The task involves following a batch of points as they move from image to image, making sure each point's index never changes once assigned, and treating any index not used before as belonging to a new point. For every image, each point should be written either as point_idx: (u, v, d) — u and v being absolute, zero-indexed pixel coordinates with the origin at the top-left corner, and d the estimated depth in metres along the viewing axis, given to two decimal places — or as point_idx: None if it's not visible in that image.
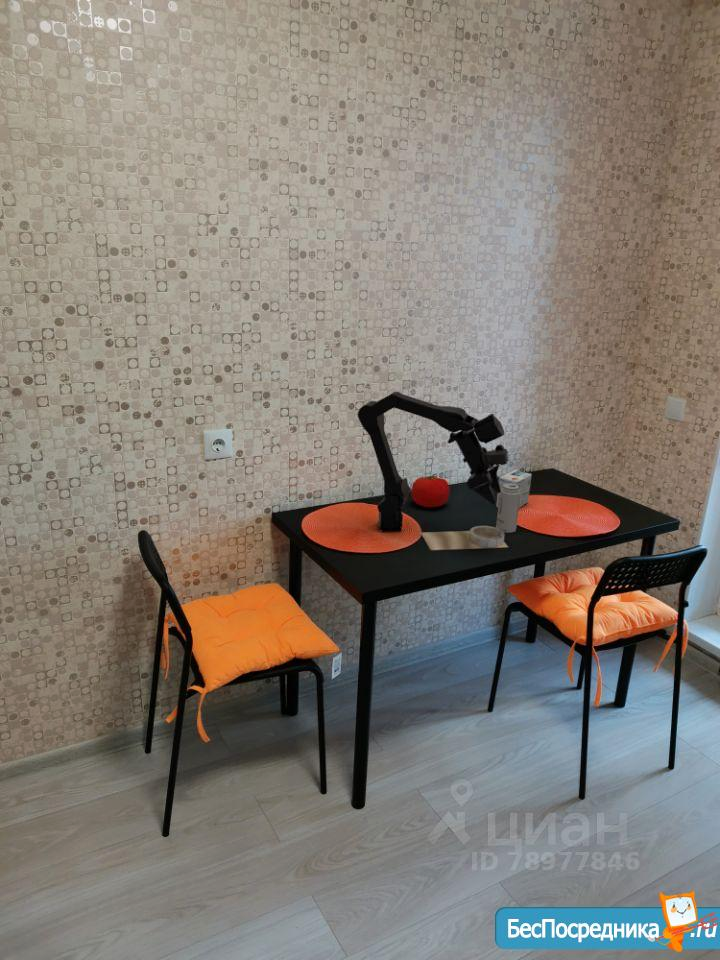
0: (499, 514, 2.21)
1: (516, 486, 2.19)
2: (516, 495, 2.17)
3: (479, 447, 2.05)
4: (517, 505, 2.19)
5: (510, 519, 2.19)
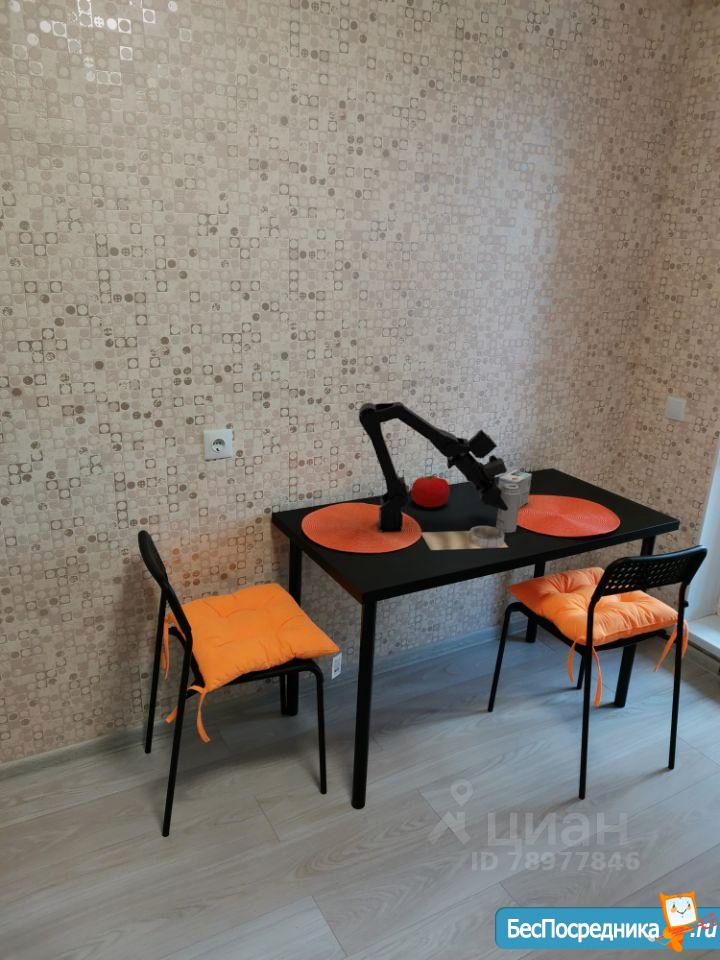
0: (499, 514, 2.21)
1: (516, 486, 2.19)
2: (516, 495, 2.17)
3: (478, 463, 2.16)
4: (517, 505, 2.19)
5: (510, 519, 2.19)
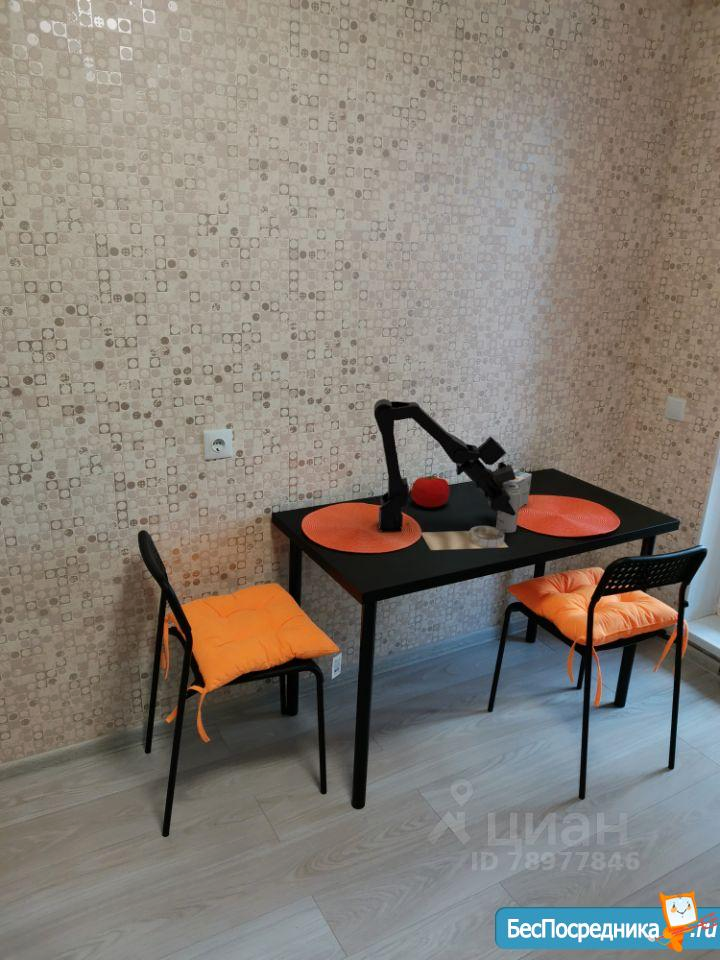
0: (499, 514, 2.21)
1: (516, 486, 2.19)
2: (516, 495, 2.17)
3: (487, 470, 2.16)
4: (517, 505, 2.19)
5: (510, 519, 2.19)
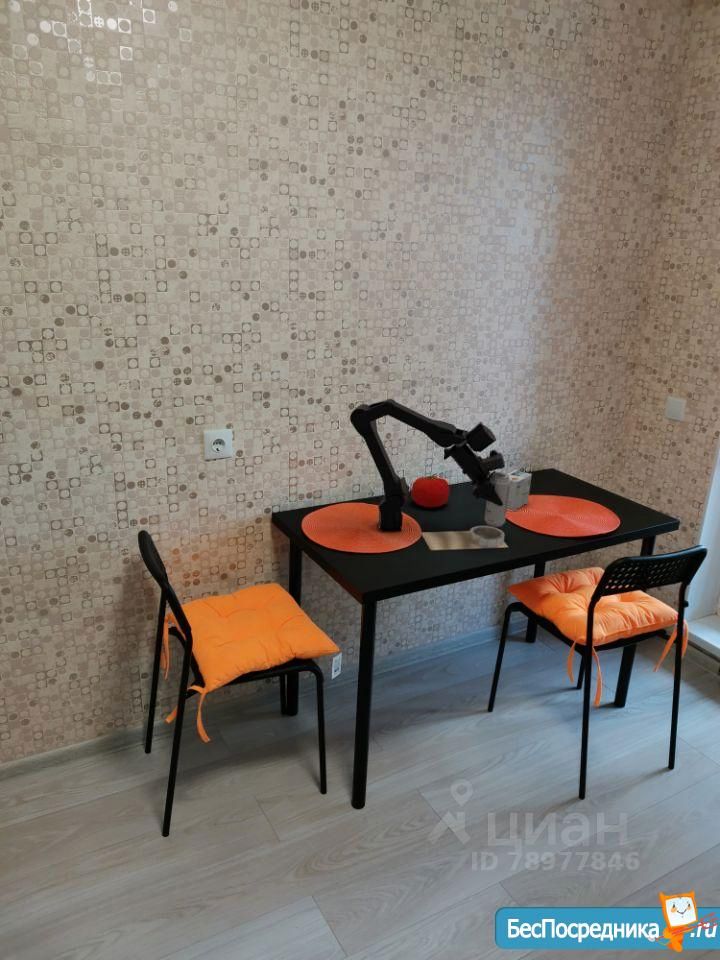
0: (487, 503, 2.13)
1: (506, 476, 2.10)
2: (504, 485, 2.09)
3: (475, 457, 2.09)
4: (506, 495, 2.10)
5: (497, 510, 2.11)
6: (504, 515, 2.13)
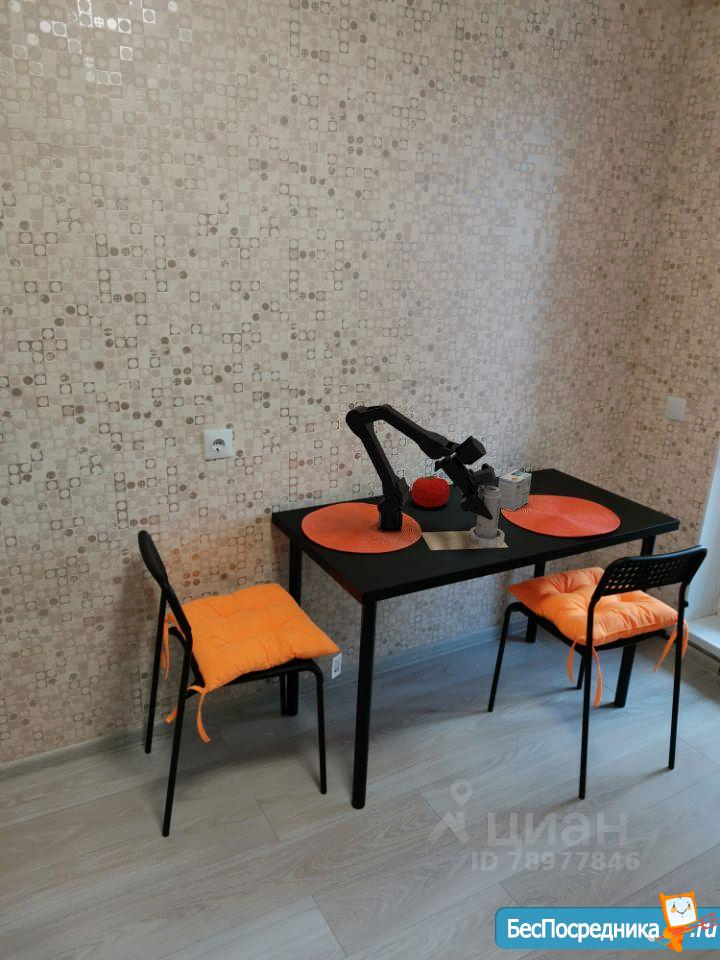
0: (478, 517, 2.12)
1: (497, 489, 2.09)
2: (494, 499, 2.07)
3: (465, 470, 2.08)
4: (496, 509, 2.09)
5: (487, 523, 2.10)
6: (495, 529, 2.11)
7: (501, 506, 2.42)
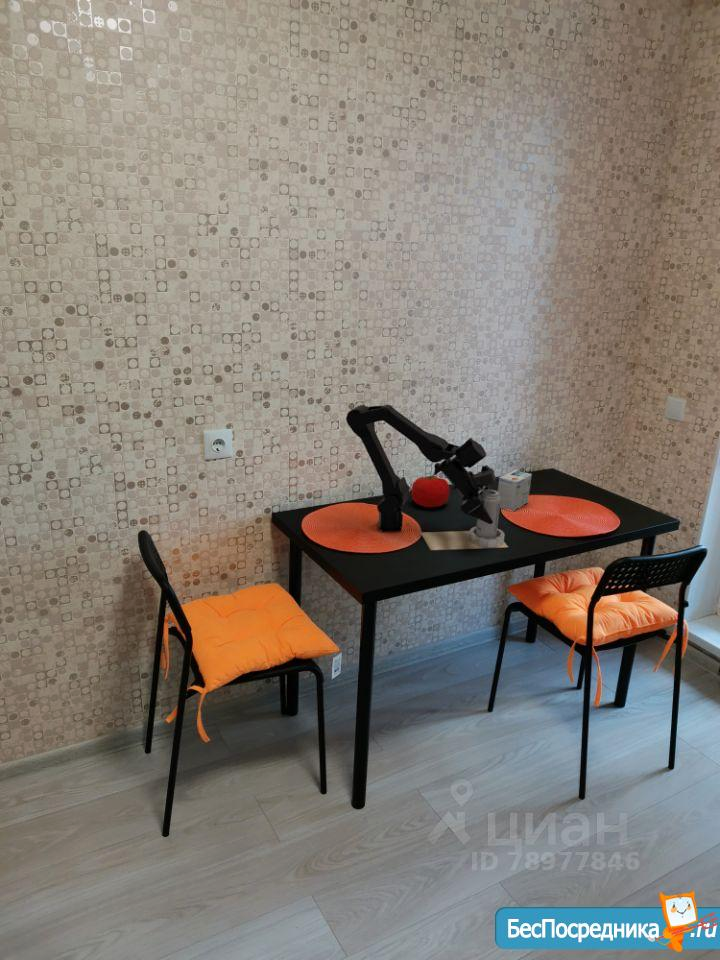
0: (477, 520, 2.12)
1: (496, 493, 2.09)
2: (494, 502, 2.08)
3: (465, 472, 2.09)
4: (495, 513, 2.09)
5: (487, 527, 2.10)
6: (494, 532, 2.12)
7: (501, 506, 2.42)
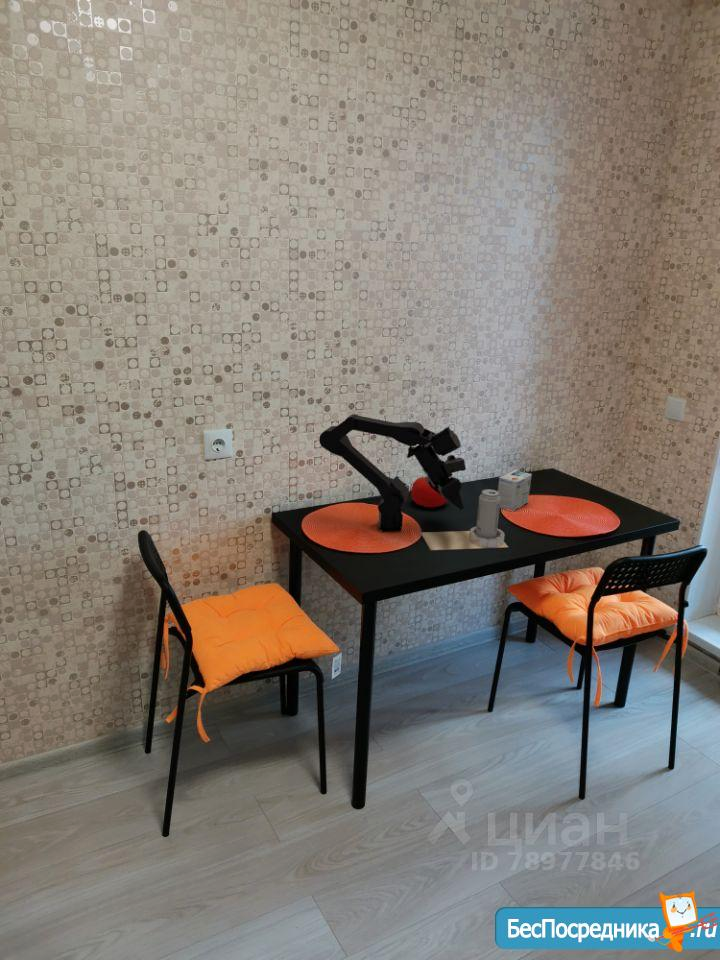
0: (477, 520, 2.12)
1: (496, 493, 2.09)
2: (494, 502, 2.08)
3: (438, 458, 2.12)
4: (495, 513, 2.09)
5: (486, 527, 2.10)
6: (494, 532, 2.12)
7: (501, 506, 2.42)
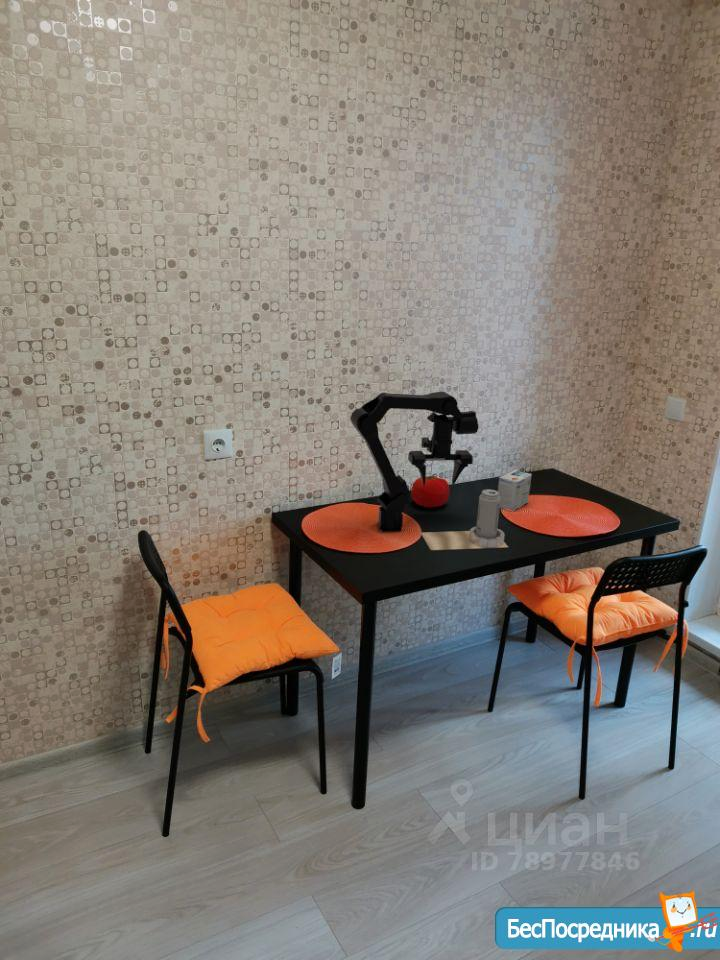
0: (477, 520, 2.12)
1: (496, 493, 2.09)
2: (494, 502, 2.08)
3: None
4: (495, 513, 2.09)
5: (486, 527, 2.10)
6: (494, 532, 2.12)
7: (501, 506, 2.42)
